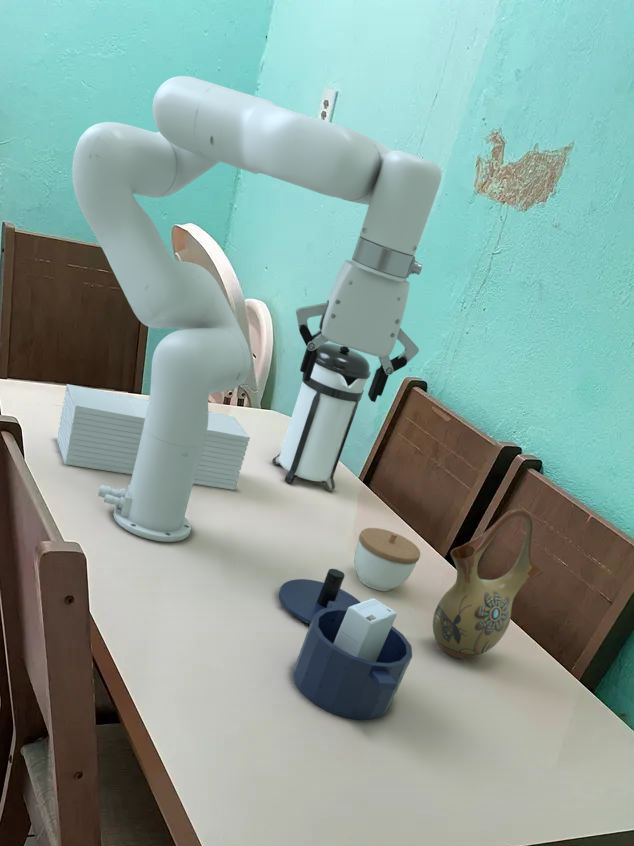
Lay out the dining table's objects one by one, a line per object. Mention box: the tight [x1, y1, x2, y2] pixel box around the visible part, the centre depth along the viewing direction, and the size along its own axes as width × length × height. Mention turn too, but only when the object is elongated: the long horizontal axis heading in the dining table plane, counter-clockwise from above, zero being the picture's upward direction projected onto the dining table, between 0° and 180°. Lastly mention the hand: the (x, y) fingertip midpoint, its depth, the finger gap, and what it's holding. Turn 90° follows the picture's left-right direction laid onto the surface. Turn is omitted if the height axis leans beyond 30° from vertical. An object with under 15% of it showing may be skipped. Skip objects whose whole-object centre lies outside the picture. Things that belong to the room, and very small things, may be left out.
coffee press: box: [272, 342, 372, 492], centre depth 178 cm, size 17×16×30 cm
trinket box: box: [353, 527, 421, 592], centre depth 147 cm, size 11×11×9 cm
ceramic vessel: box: [432, 508, 545, 660], centre depth 130 cm, size 16×9×25 cm, turn 107°
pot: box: [292, 601, 413, 720], centre depth 115 cm, size 14×19×8 cm
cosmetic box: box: [333, 597, 398, 662], centre depth 114 cm, size 6×4×12 cm
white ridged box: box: [56, 383, 251, 491], centre depth 160 cm, size 32×11×11 cm, turn 110°
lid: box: [278, 568, 361, 625], centre depth 133 cm, size 15×15×7 cm
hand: (338, 388), depth 120 cm, fingers open, 9 cm apart
